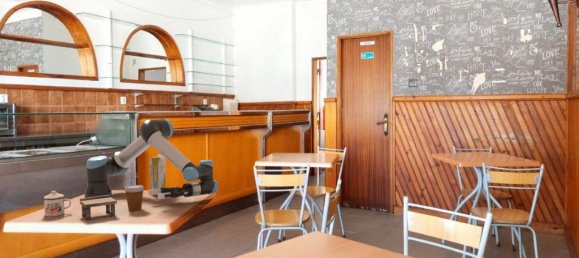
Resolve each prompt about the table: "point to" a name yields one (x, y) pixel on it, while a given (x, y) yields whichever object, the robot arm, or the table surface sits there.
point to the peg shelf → (97, 204)
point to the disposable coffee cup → (134, 197)
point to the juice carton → (157, 172)
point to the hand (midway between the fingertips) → (153, 194)
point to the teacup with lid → (54, 204)
